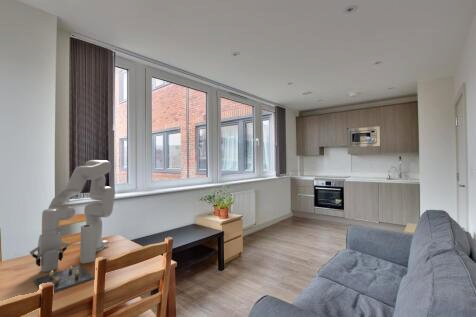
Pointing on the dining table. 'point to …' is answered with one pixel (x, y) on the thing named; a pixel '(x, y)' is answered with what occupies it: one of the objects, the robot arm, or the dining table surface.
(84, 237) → the paper towel roll
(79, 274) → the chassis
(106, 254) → the dining table surface
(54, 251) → the can
